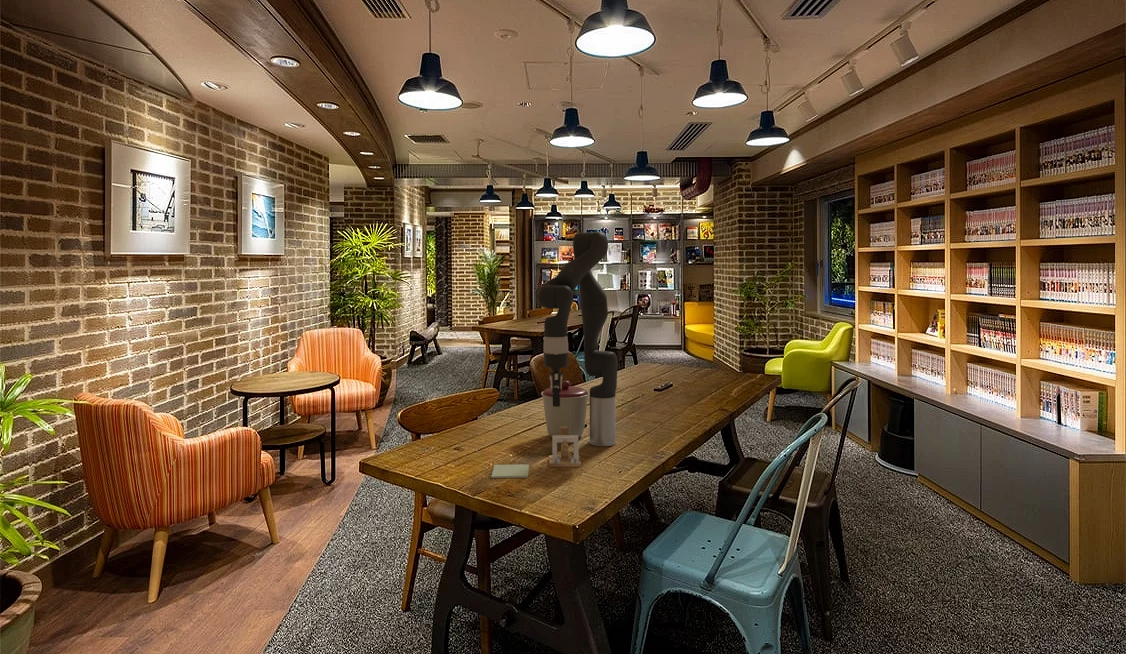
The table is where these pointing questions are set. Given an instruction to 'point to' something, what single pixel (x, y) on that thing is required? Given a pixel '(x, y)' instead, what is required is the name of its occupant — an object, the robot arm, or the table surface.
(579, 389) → the canister
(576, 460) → the pinkish grey arch
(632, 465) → the table surface
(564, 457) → the stand
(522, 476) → the mat
